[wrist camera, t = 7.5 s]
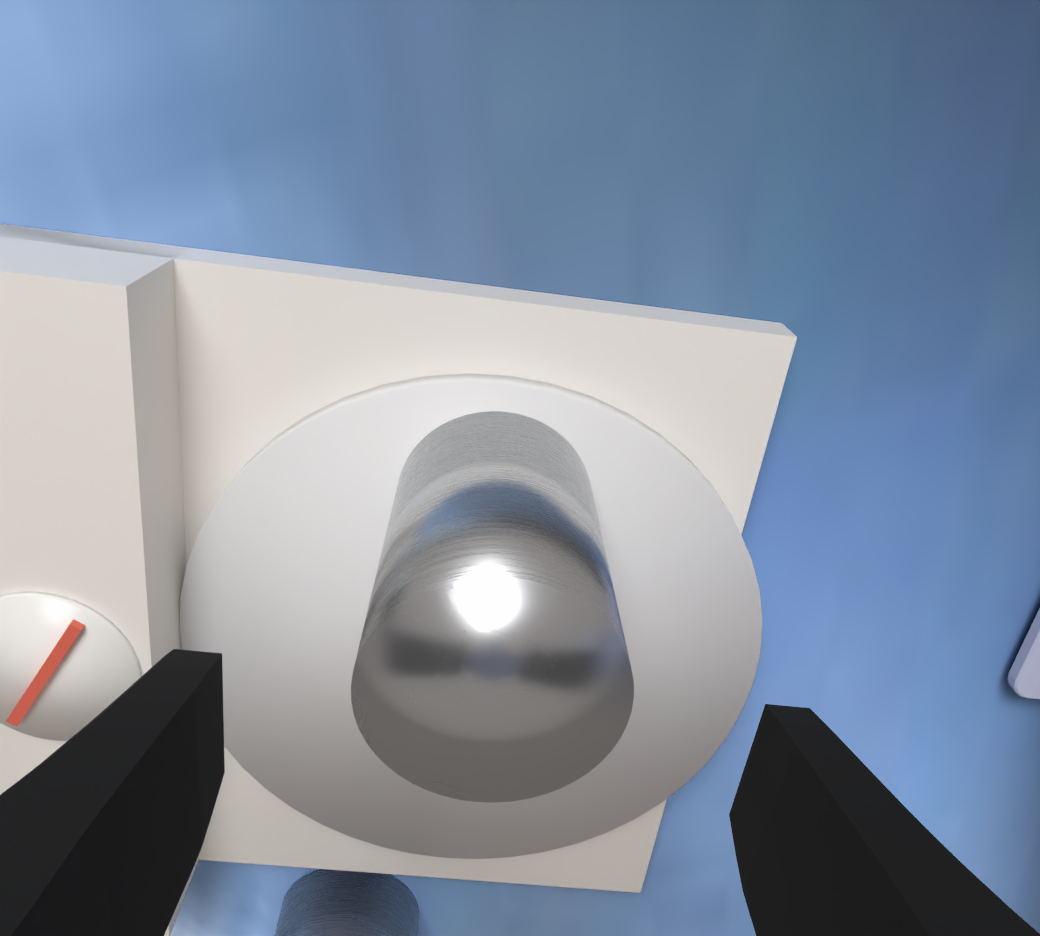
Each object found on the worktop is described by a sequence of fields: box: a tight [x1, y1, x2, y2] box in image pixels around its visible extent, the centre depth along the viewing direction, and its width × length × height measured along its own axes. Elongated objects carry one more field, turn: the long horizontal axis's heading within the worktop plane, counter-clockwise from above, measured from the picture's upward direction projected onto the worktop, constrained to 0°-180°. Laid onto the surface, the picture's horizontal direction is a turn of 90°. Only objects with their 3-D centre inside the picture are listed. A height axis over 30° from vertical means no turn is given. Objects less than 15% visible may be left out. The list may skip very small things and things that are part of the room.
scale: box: [0, 224, 797, 936], centre depth 19 cm, size 17×16×4 cm
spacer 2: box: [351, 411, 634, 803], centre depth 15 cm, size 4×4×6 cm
